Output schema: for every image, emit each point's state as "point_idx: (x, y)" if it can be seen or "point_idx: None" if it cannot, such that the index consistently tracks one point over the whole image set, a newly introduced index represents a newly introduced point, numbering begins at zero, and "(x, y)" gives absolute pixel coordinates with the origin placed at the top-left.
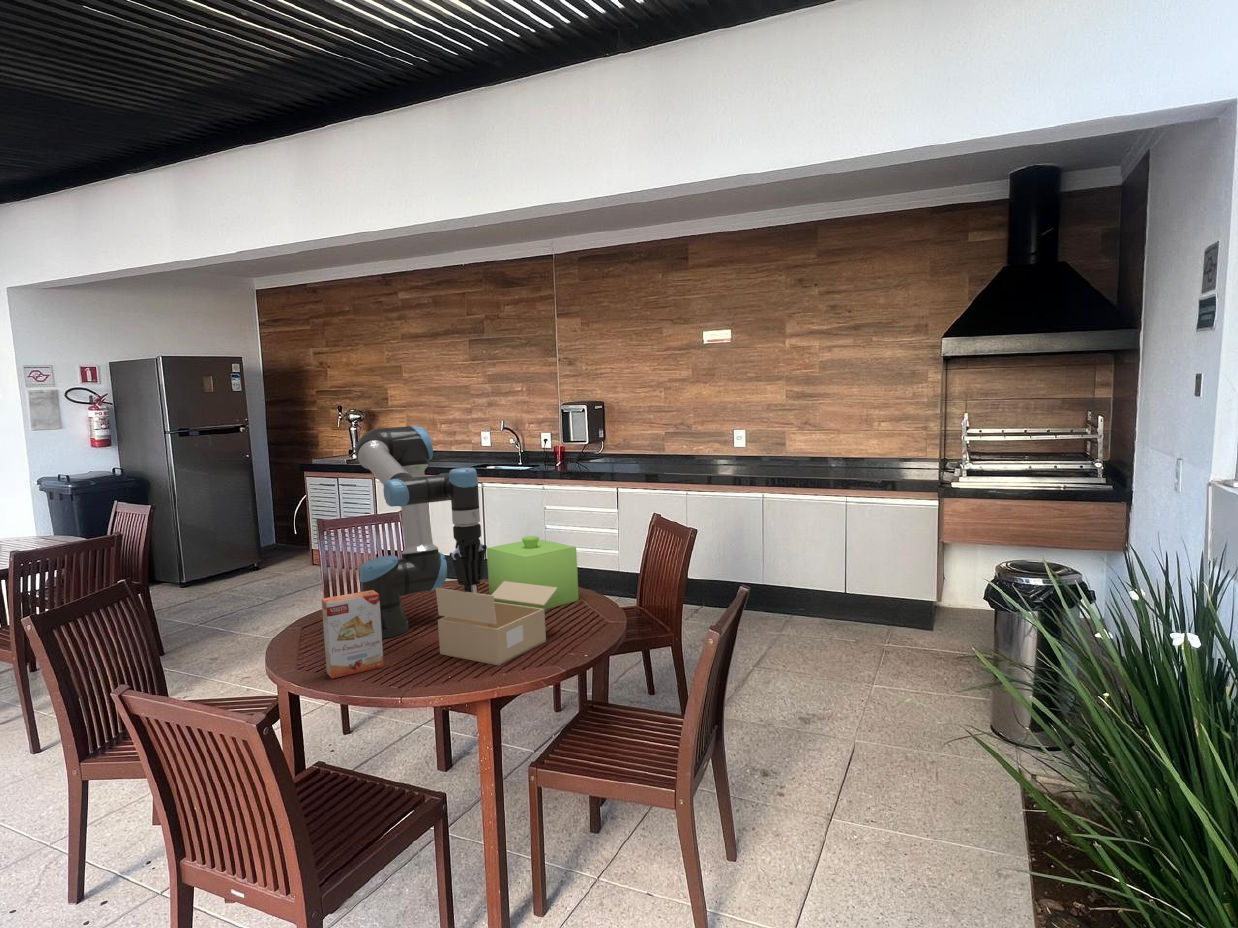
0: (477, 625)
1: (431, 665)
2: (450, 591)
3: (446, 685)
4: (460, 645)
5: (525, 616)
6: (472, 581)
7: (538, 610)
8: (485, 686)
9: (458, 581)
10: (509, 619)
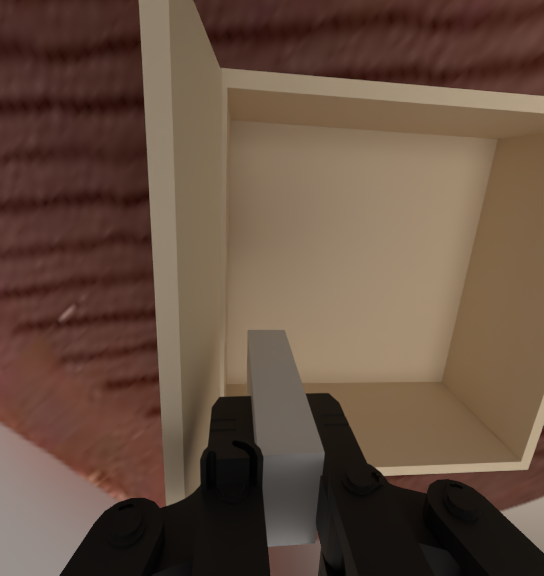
0: (223, 373)
1: (107, 172)
2: (157, 271)
3: (9, 353)
4: None
5: (411, 469)
6: (328, 532)
7: (501, 463)
8: (74, 450)
9: (73, 570)
10: (517, 265)
